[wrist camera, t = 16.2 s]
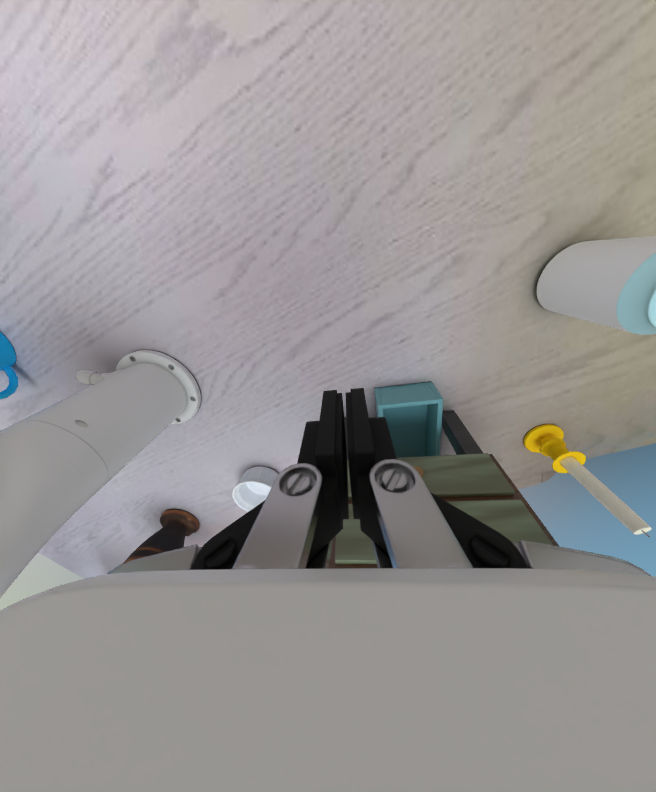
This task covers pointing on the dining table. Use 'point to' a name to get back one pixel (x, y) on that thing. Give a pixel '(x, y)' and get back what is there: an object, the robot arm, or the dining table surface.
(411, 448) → the storage box
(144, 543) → the vase
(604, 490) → the candle
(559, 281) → the can
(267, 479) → the ramekin
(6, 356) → the mug
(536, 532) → the drawer chest
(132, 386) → the robot arm
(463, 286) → the dining table surface
